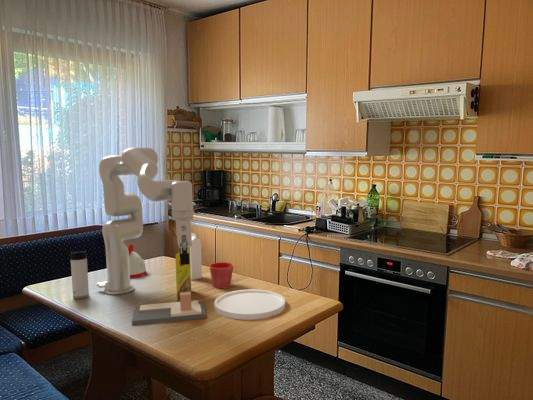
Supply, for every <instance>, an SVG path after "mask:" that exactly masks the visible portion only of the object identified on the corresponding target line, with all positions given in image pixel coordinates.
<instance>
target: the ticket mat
mask: <svg viewBox="0 0 533 400" xmlns="http://www.w3.org/2000/svg"><path fill="white" fill-rule="evenodd" d="M198 304H200V306H201V311H202V314H197V315H186V316H175V317H171V307H175V306H180V301H178V302H177V301H172V302H162V303H150V304H140V305H136V306H135V305H134V306H135V307H134V311H133V315H132V319H131V325H132V326H134V325H135V326H137V325H147V324H148V325H149V324H158V323H167V322H168V323H169V322H178V321H179V322H180V321H188V320H200V319H206V318H207V315H206V308H205V303H204V300H199V299H197V300H196V299H195V300H191V305H198Z"/></svg>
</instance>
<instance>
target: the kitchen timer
mask: <svg viewBox="0 0 533 400" xmlns="http://www.w3.org/2000/svg"><path fill="white" fill-rule="evenodd" d="M127 248H128V250H129V266H130V279H135V278H140V277H143V276H145V275H146V274H147V269H146V262H145V259H143V258H142V257H141V256H140V254H139V253H137V252H135V251H134V248H135V247H134V245H133V244H129V245H128V247H127Z"/></svg>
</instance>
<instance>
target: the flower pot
mask: <svg viewBox="0 0 533 400" xmlns="http://www.w3.org/2000/svg"><path fill="white" fill-rule="evenodd" d="M208 267H209V272H210V277H211V282H212V286H213V287H214V288H216V289H227V288H229V287H230V286H231V284H232V283H231V281H232V277H233V273H234V272H233V270H234V264H233V263H231V262H223V261H222V262H214V263H211V264H209V266H208Z"/></svg>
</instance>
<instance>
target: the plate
mask: <svg viewBox="0 0 533 400" xmlns="http://www.w3.org/2000/svg"><path fill="white" fill-rule="evenodd" d="M213 306H214V310H215V312H216V313H217V314H219V315H220V316H222V317H224V318H229V319H233V320H234V319H235V320H244V321H245V320H246V321H247V320H261V319H262V320H263V319H266V318H267V319H268V318H271V317H274V316H276V314H277V315H278V313H279V314H280V313H282V312H283V311H284V310H285V309H286V299H285V297H284V296H283V295H281V294H280V293H277V292H274V291H270V290H265V289H257V288H256V289H255V288H254V289H250V288H249V289H239V290H233V291H229V292H225V293H224V294H221V295H219V296H218V297H217V298H215V300H214V305H213ZM283 309H284V310H283ZM281 311H282V312H281ZM273 315H274V316H273Z"/></svg>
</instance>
